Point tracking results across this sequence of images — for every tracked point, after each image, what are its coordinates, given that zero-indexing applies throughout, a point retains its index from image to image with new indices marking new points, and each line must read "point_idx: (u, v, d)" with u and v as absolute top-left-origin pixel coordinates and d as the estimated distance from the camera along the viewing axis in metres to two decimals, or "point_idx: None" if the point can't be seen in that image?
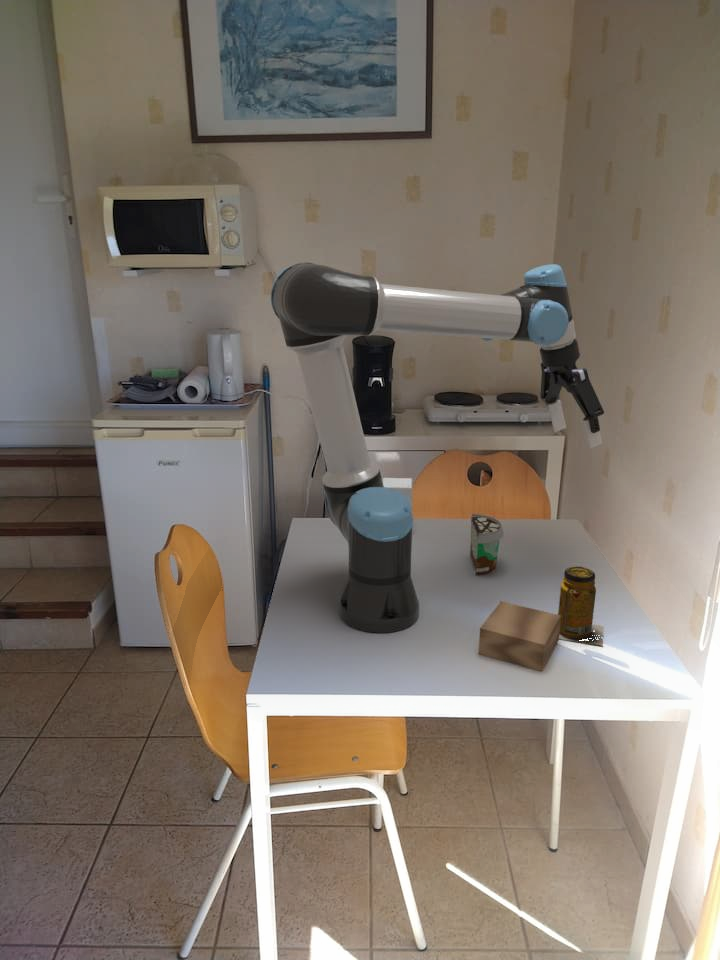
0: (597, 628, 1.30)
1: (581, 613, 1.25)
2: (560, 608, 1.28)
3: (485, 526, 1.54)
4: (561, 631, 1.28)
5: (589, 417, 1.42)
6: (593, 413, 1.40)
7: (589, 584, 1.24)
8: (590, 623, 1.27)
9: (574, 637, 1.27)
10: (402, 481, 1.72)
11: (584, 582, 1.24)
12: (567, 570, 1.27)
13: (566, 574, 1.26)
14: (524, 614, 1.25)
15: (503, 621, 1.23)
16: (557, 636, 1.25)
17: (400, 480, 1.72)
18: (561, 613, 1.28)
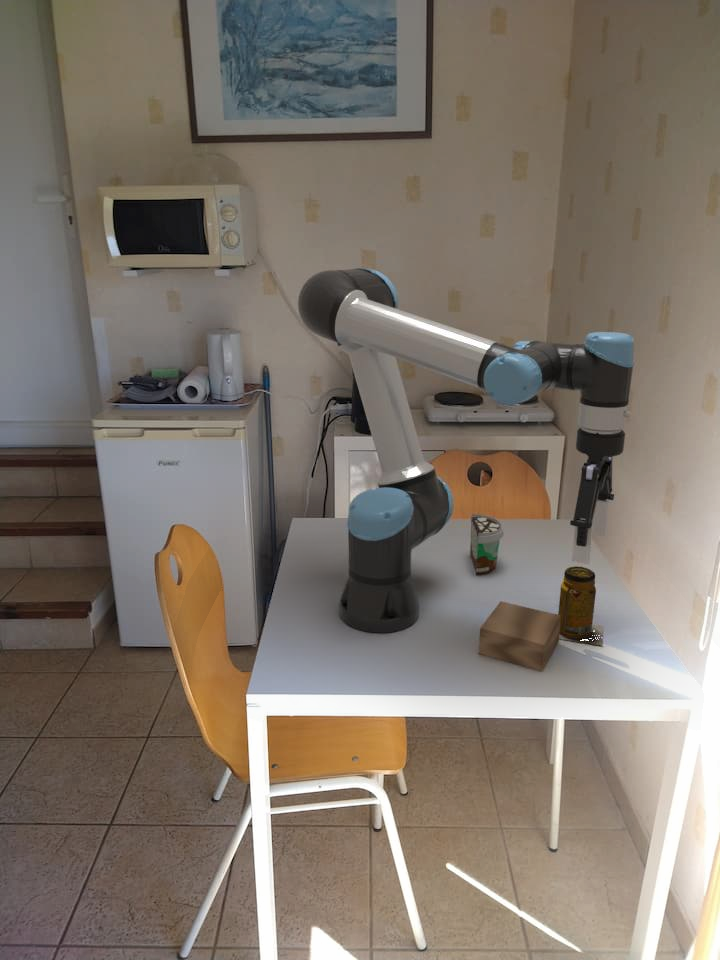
0: (597, 628, 1.30)
1: (581, 613, 1.25)
2: (560, 608, 1.28)
3: (485, 526, 1.54)
4: (561, 631, 1.28)
5: None
6: (574, 520, 1.14)
7: (589, 584, 1.24)
8: (590, 623, 1.27)
9: (574, 637, 1.27)
10: None
11: (584, 582, 1.24)
12: (567, 570, 1.27)
13: (566, 574, 1.26)
14: (524, 614, 1.25)
15: (503, 621, 1.23)
16: (557, 636, 1.25)
17: None
18: (561, 613, 1.28)
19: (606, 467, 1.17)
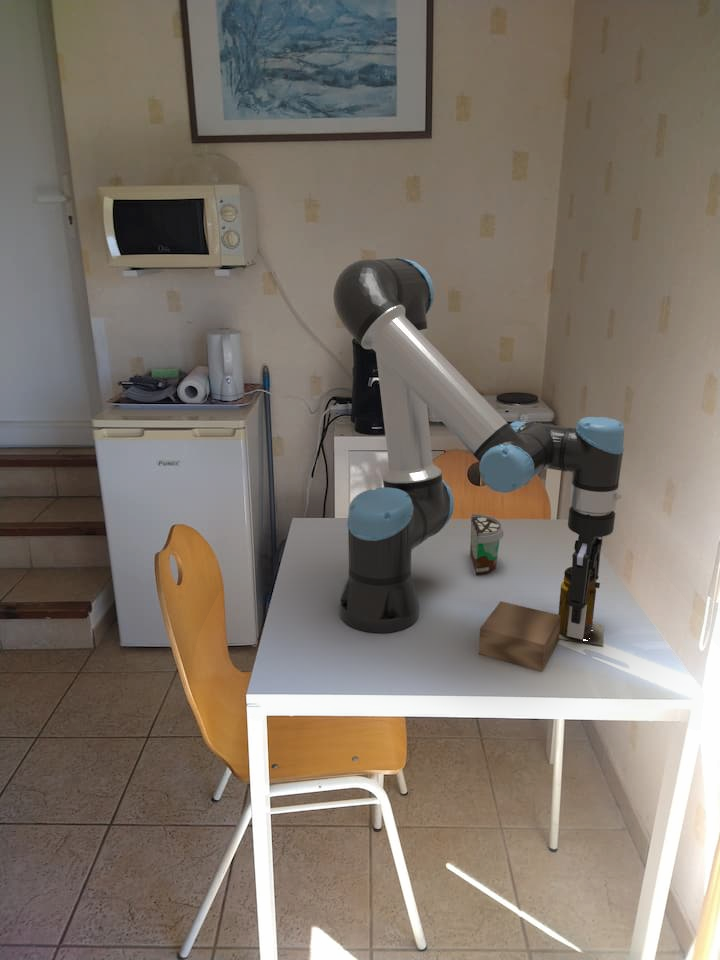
0: (597, 628, 1.30)
1: None
2: (560, 608, 1.28)
3: (485, 526, 1.54)
4: (561, 631, 1.28)
5: None
6: (569, 602, 1.21)
7: (589, 583, 1.24)
8: (590, 623, 1.27)
9: None
10: None
11: None
12: (567, 570, 1.27)
13: (566, 574, 1.26)
14: (524, 614, 1.25)
15: (503, 621, 1.23)
16: (557, 636, 1.25)
17: None
18: (561, 613, 1.27)
19: (596, 547, 1.21)
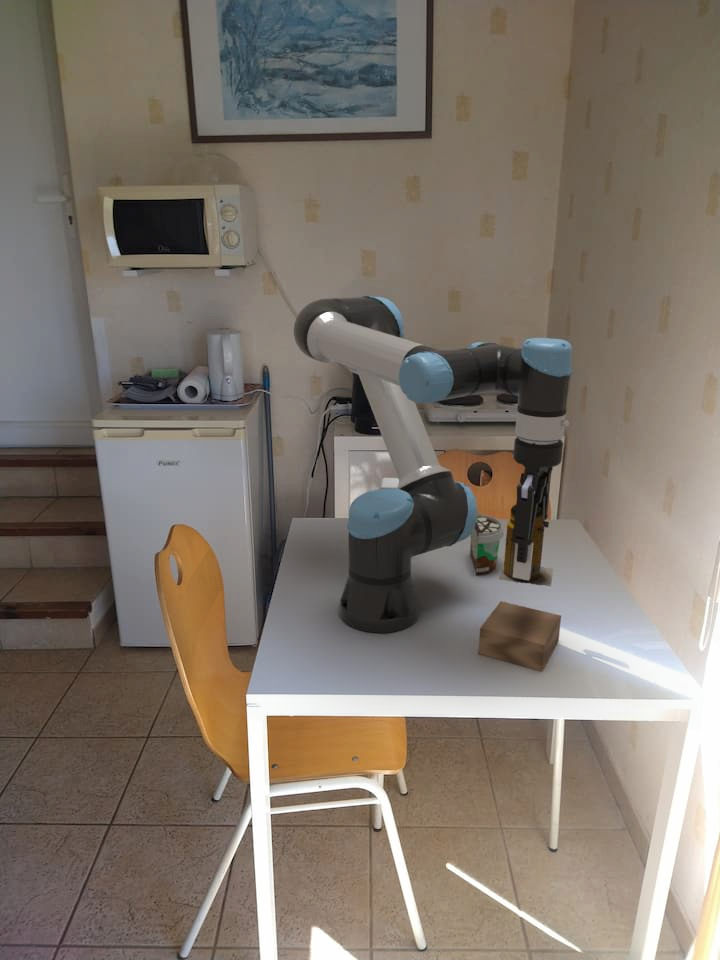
0: (547, 570, 1.22)
1: None
2: (506, 548, 1.19)
3: (485, 526, 1.54)
4: (507, 573, 1.20)
5: None
6: (514, 538, 1.13)
7: (536, 520, 1.16)
8: (538, 563, 1.19)
9: (521, 579, 1.19)
10: None
11: None
12: (514, 506, 1.18)
13: (512, 510, 1.17)
14: (524, 614, 1.25)
15: (503, 621, 1.23)
16: (557, 636, 1.25)
17: None
18: (507, 553, 1.19)
19: (543, 479, 1.13)
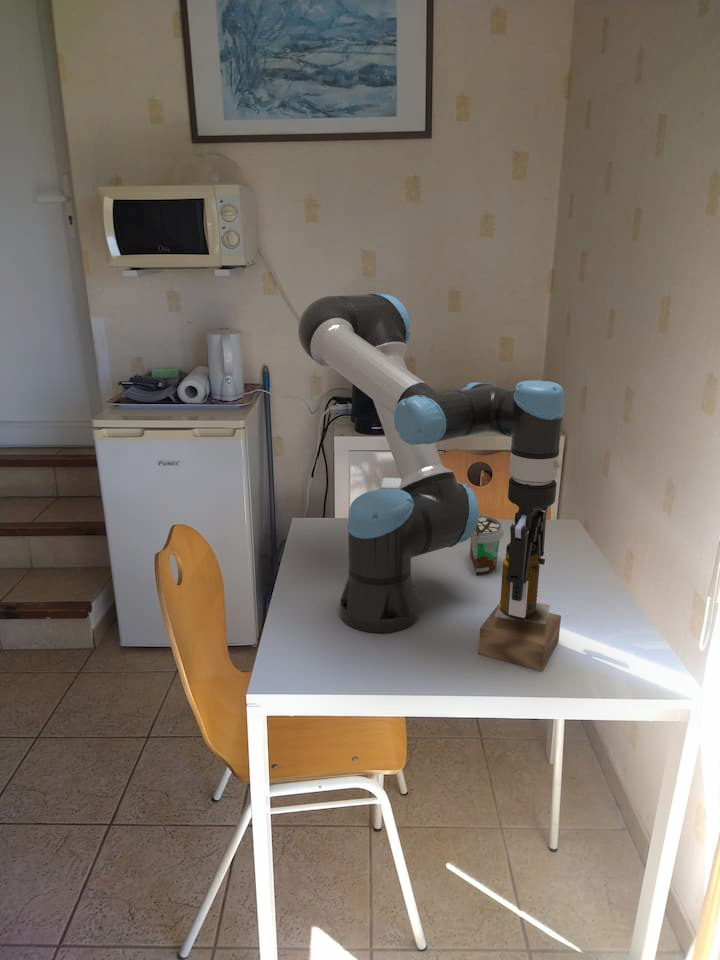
0: (543, 607, 1.23)
1: None
2: (502, 585, 1.21)
3: (485, 526, 1.54)
4: (504, 609, 1.21)
5: None
6: (508, 577, 1.14)
7: (531, 558, 1.17)
8: (534, 601, 1.20)
9: None
10: None
11: None
12: (509, 544, 1.20)
13: (508, 549, 1.19)
14: None
15: (503, 621, 1.23)
16: (557, 636, 1.25)
17: (400, 480, 1.72)
18: (503, 590, 1.21)
19: (537, 519, 1.15)
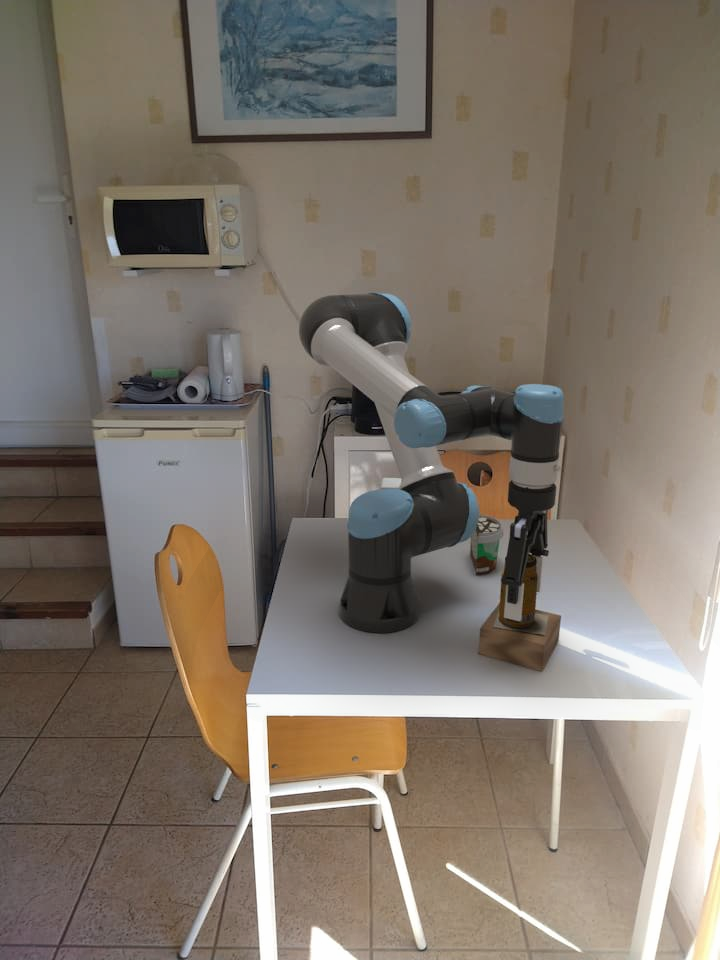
0: (541, 617, 1.24)
1: None
2: (501, 596, 1.22)
3: (485, 526, 1.54)
4: (502, 620, 1.22)
5: None
6: (504, 579, 1.12)
7: (530, 569, 1.18)
8: (532, 611, 1.21)
9: (515, 626, 1.21)
10: None
11: None
12: None
13: None
14: None
15: None
16: (557, 636, 1.25)
17: (400, 480, 1.72)
18: (502, 601, 1.21)
19: (537, 521, 1.15)
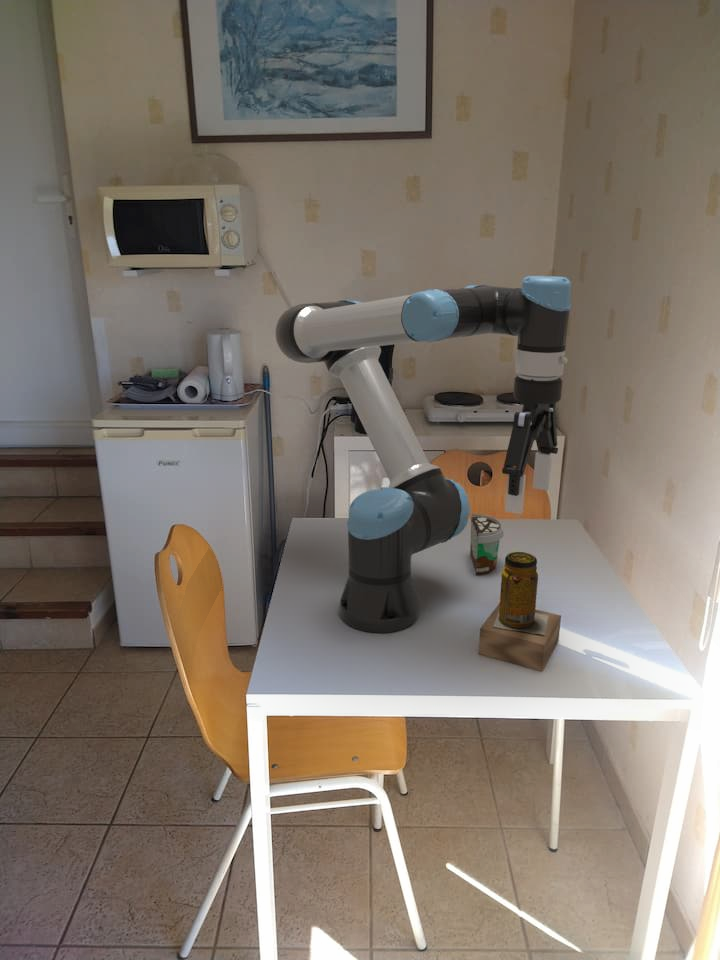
0: (541, 617, 1.24)
1: (522, 600, 1.19)
2: (501, 596, 1.22)
3: (485, 526, 1.54)
4: (502, 620, 1.22)
5: None
6: (504, 467, 1.11)
7: (530, 569, 1.18)
8: (532, 611, 1.21)
9: (515, 626, 1.21)
10: None
11: (524, 568, 1.18)
12: (508, 555, 1.20)
13: (506, 560, 1.19)
14: None
15: None
16: (557, 636, 1.25)
17: None
18: (502, 601, 1.21)
19: (542, 415, 1.14)
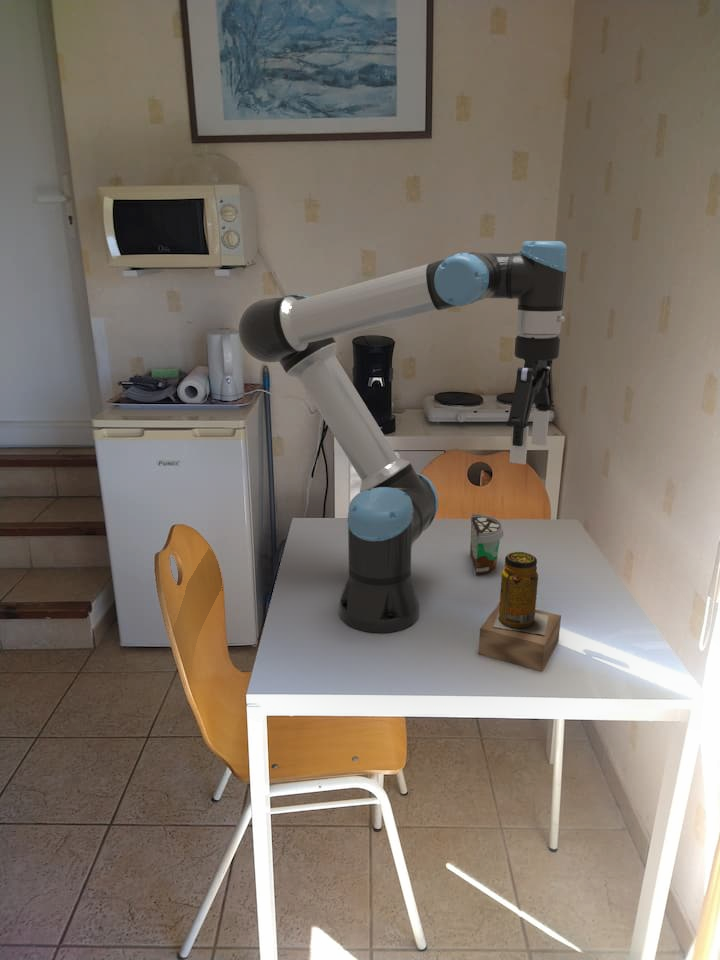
0: (541, 617, 1.24)
1: (522, 600, 1.19)
2: (501, 596, 1.22)
3: (486, 526, 1.54)
4: (502, 620, 1.22)
5: None
6: (510, 419, 1.19)
7: (530, 569, 1.18)
8: (532, 611, 1.21)
9: (515, 626, 1.21)
10: None
11: (524, 568, 1.18)
12: (508, 555, 1.20)
13: (506, 560, 1.19)
14: None
15: None
16: (557, 636, 1.25)
17: None
18: (502, 601, 1.21)
19: (542, 371, 1.23)
